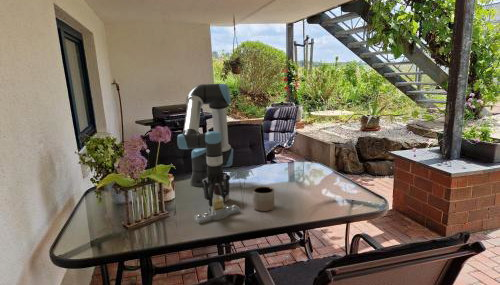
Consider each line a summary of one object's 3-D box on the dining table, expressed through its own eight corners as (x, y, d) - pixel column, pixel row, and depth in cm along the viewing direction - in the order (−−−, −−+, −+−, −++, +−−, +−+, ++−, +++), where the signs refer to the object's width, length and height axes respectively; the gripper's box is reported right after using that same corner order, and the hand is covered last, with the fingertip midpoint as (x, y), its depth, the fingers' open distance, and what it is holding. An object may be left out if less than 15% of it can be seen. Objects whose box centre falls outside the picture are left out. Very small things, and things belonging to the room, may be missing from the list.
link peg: (212, 215, 155) (211, 200, 153) (219, 213, 157) (218, 198, 156) (215, 218, 152) (214, 202, 150) (223, 216, 154) (222, 200, 152)
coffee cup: (233, 197, 179) (232, 171, 176) (226, 204, 169) (225, 177, 167) (217, 196, 182) (216, 170, 179) (210, 202, 173) (208, 175, 170)
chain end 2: (214, 213, 158) (213, 204, 157) (233, 208, 163) (232, 199, 163) (221, 218, 151) (221, 209, 150) (241, 213, 157) (240, 204, 156)
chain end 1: (193, 218, 152) (192, 210, 151) (214, 213, 158) (213, 204, 157) (200, 224, 145) (199, 215, 144) (221, 218, 151) (221, 209, 150)
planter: (259, 213, 156) (259, 195, 154) (249, 206, 165) (249, 188, 163) (278, 208, 161) (278, 190, 159) (267, 202, 170) (267, 185, 168)
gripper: (201, 169, 142) (204, 218, 146) (234, 162, 151) (236, 209, 155) (194, 165, 148) (197, 212, 152) (227, 160, 157) (229, 204, 162)
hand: (217, 210), depth 154 cm, fingers open, 4 cm apart
